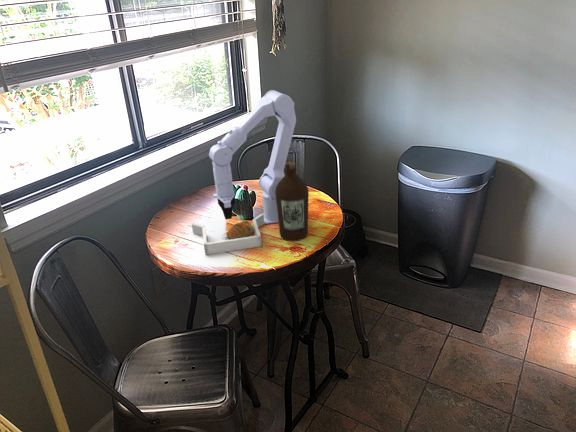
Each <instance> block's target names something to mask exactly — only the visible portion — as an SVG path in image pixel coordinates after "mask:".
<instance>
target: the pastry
mask: <svg viewBox="0 0 576 432" xmlns="http://www.w3.org/2000/svg"><path fill="white" fill-rule="evenodd" d="M253 233H254V228H253V224H252V223H251V222H250V221H249V220H244V219H243V220H242V221H240V222H237V223H235V224H233V226H231V228H229V230H228V231H227V232H226V238H227V239H228V240H230V239H237V238H244V237H248V236H249V235H250V236H251V235H252V234H253Z"/></svg>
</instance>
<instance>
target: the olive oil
mask: <svg viewBox="0 0 576 432" xmlns="http://www.w3.org/2000/svg"><path fill="white" fill-rule="evenodd" d="M284 174H285V176H284V177H283V178H282V179H281V180H280V182H279V183H278V184H277V186H276V190H275V196H276V204H277V212H278V220H279V222H278V229H279V230H278V231H279V235H280V238H282V239H283V240H285V241H289V242H296V241H301V239H302V240H304V239H305V238H307V237H308V236H309V196H310V195H309V193H310V192H309V188H308V187H309V186H308V185H307V183H306V182H305V181H304V180H303V179H302V178H301V177H300V176H299V174H297V167H296V162H294V161H286V163H285V167H284Z"/></svg>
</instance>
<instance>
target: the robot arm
mask: <svg viewBox="0 0 576 432" xmlns="http://www.w3.org/2000/svg"><path fill="white" fill-rule="evenodd" d="M295 104H296V103H295V102H294V101H293V99H292V98H291V97H290V96H289V95H288V94H285V93H282V92H279V91H278V90H276V89H275V90H274V89H271V90H269V91H267V92H266V93H265V94H264V96H262V97H261V98H260V100H259V101H258V103H257V105H256V106H255V107H254V108H253V109H252V110H251V112H250V113H248V115H247V117H246V118H245V119H244V120H243V121H242V122H241V123H240V125H239V126H233V127H232V128H229V129H228V130H227V131H226V132H227V133H226V135H224V136H223V137H222V139H221V140H218V141H217V144H214V145H212V146H211V147H210V149H209V153H208V154H207V155H208V158H209V159H210V160H211V164H212V172H213V179H214V185H215V193H213V194H212V196H213V198H214V199H216V200H217V204H218V206H219V207H220V209H221V210H222V214H223V216H224V218H225V220H230V219H232V218H233V209H234V206H235V203H236V199H235V191H234V190H235V189H234V184H233V175H232V167H231V162H232V160H233V155H234V154H235V153H236V152H237V150H238V149H239V148H240V147H241V146H243V144H244V143H245V142H246V141H247V137H248V134H249V132H251V131H252V130H253V129H254V128H255V127H256V126H257V124H259V123H260V122H261V121H262V120H263V119H264V118H268V117H276V119H277V121H278V125H277V130H276V134H275V137H274V143H273V146H272V150H271V154H270V159H269V163H268V166H267V167H266V168H264V170H263V173H262V175H261V176H260V177H259V180H258V185H259V188H260V189H261V190H262V195H261V196H262V205H263V213H261V214H264V224H266V225H268V224H274V223H279V220H278V212H277V204H276V196H275V190H276V186H277V184H278V183H279V182H280V180H281V179H282V178H283V177H284V176H285V175H286V173H285V167H286V166H285V163H287V159H288V155H289V150H290V147H291V143H292V139H293V135H294V130H295V127H296V124H297V116H296V111H295Z"/></svg>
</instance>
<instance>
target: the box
mask: <svg viewBox="0 0 576 432" xmlns="http://www.w3.org/2000/svg"><path fill="white" fill-rule="evenodd" d="M264 224H265V222H264V214H262V213H260V214H258V215H257V216H256V217H253V219H252V226H253V228H254V232H253V233H254V235H250V236H245V237H243V238H237V239H225V240H224V239H223V240H219V241H218V240H217V241H211V242H208V238H207V237H208V236H207V230H206V226H205V225H202V224H198V223H192V224H191V228H192V233H193V234H194V235H197V236H200V237H203V239H202V240H203V247H204V248H203V249H204V254H205V256H206V255H211V254H218V253H225V252H231V251H233V252H234V251H238V250H244V249H252V248H257V247H259V248H260V247H263V244H262V243H263V242H262V235H261V232H260V229H259V228H260V227H261V226H263V225H264Z"/></svg>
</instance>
